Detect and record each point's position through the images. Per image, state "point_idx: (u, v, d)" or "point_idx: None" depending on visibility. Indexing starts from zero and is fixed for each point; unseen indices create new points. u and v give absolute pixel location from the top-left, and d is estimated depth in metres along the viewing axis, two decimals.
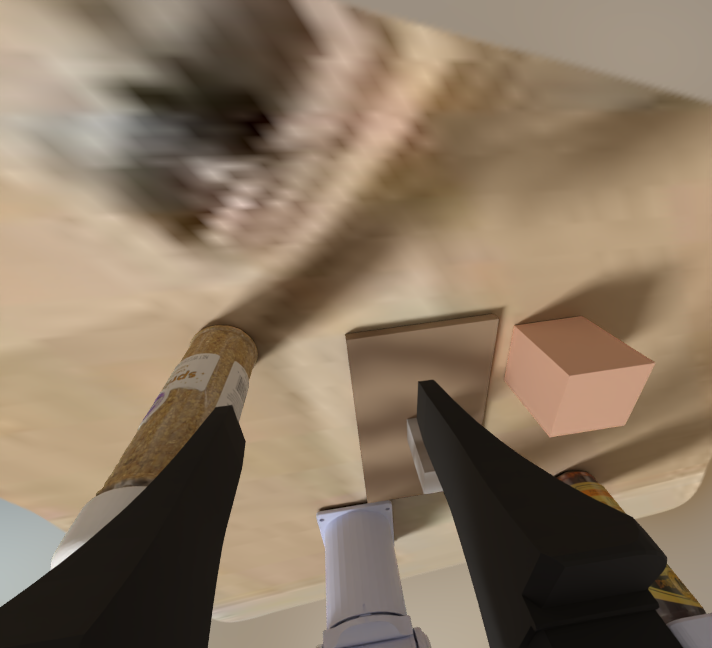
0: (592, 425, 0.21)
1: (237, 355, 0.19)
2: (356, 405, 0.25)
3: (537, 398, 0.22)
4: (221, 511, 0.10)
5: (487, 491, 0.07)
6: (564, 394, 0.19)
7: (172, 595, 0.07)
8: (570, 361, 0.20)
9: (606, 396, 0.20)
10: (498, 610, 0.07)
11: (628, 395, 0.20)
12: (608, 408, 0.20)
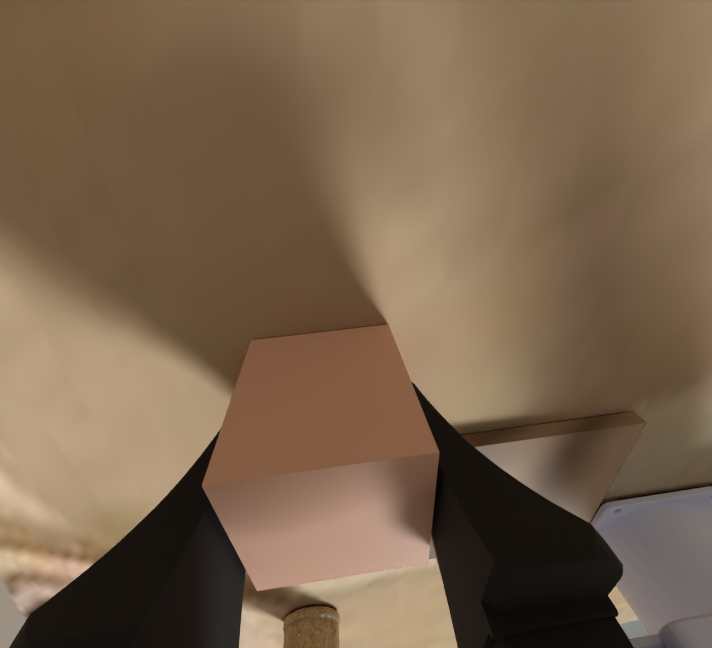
0: (414, 515, 0.08)
1: None
2: None
3: None
4: None
5: (452, 496, 0.07)
6: (307, 579, 0.10)
7: (209, 589, 0.07)
8: None
9: (316, 526, 0.08)
10: (464, 616, 0.07)
11: (318, 491, 0.07)
12: (359, 509, 0.08)
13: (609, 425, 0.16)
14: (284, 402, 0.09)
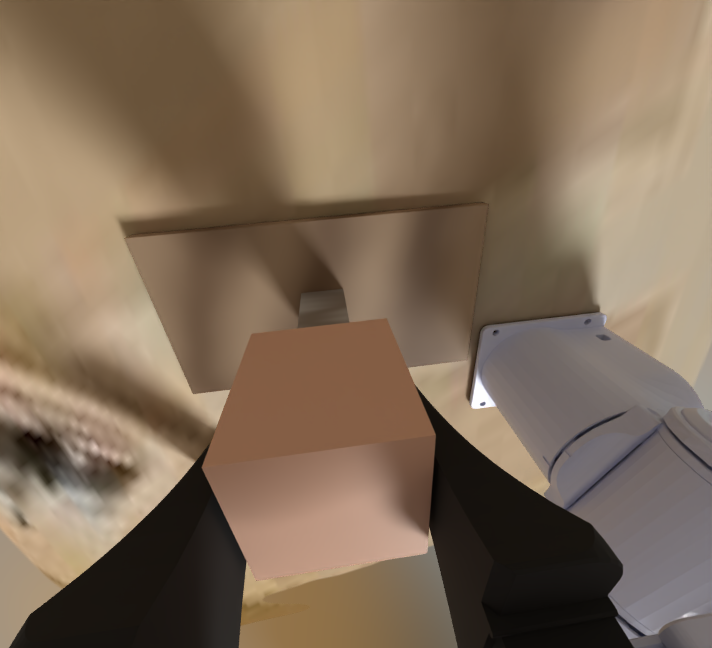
0: (412, 501, 0.09)
1: None
2: None
3: None
4: None
5: (452, 497, 0.07)
6: (306, 569, 0.10)
7: (209, 589, 0.07)
8: None
9: (314, 512, 0.08)
10: (464, 616, 0.07)
11: (316, 474, 0.08)
12: (357, 495, 0.08)
13: (455, 207, 0.18)
14: (283, 390, 0.09)
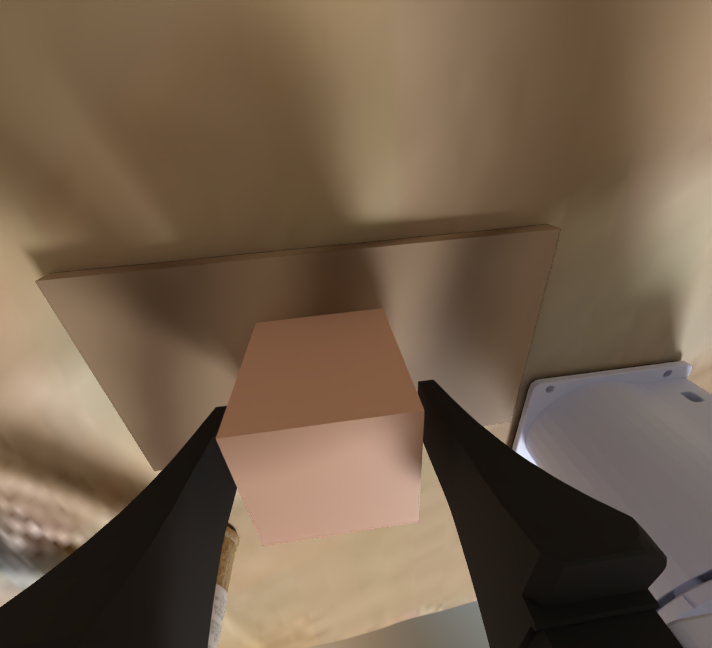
0: (404, 472, 0.09)
1: None
2: None
3: None
4: (221, 511, 0.10)
5: (487, 491, 0.07)
6: (308, 535, 0.11)
7: (172, 595, 0.07)
8: None
9: (316, 482, 0.09)
10: (498, 610, 0.07)
11: (317, 446, 0.08)
12: (354, 465, 0.09)
13: (513, 232, 0.12)
14: (287, 373, 0.10)
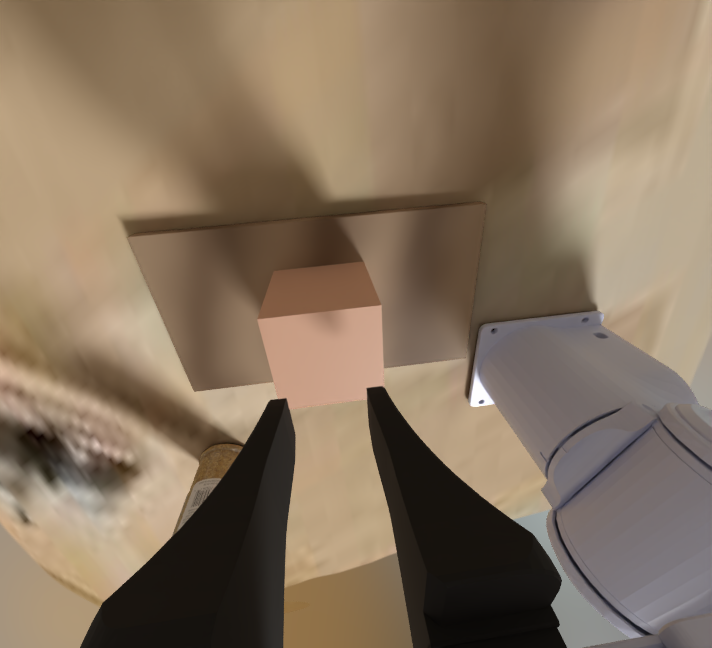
0: (372, 353, 0.15)
1: (198, 477, 0.24)
2: None
3: None
4: (284, 502, 0.10)
5: (402, 504, 0.07)
6: (311, 404, 0.16)
7: (261, 580, 0.07)
8: None
9: (316, 357, 0.15)
10: (415, 625, 0.07)
11: (317, 328, 0.14)
12: (340, 345, 0.14)
13: (453, 206, 0.18)
14: (297, 293, 0.15)
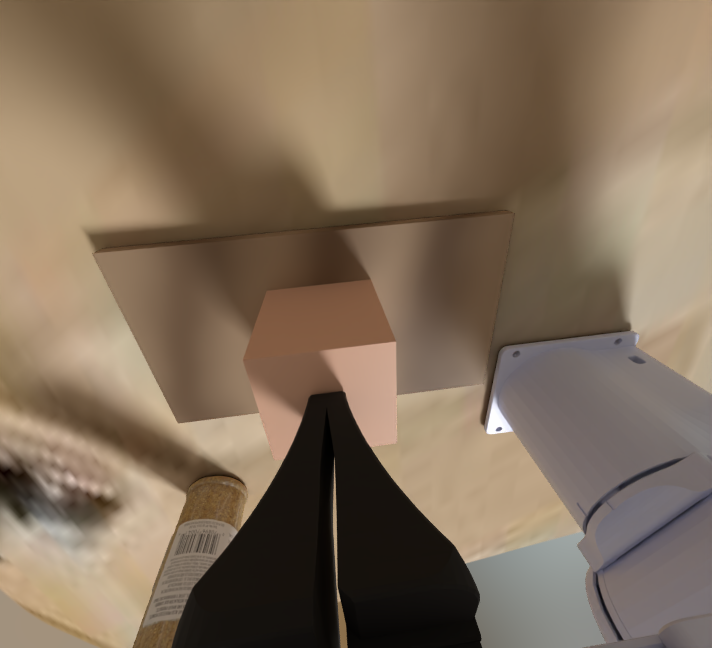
0: (383, 395, 0.12)
1: (183, 516, 0.21)
2: None
3: None
4: (330, 495, 0.10)
5: (337, 514, 0.07)
6: None
7: (327, 570, 0.07)
8: None
9: None
10: None
11: (317, 369, 0.11)
12: (345, 388, 0.12)
13: (476, 216, 0.15)
14: (293, 322, 0.13)
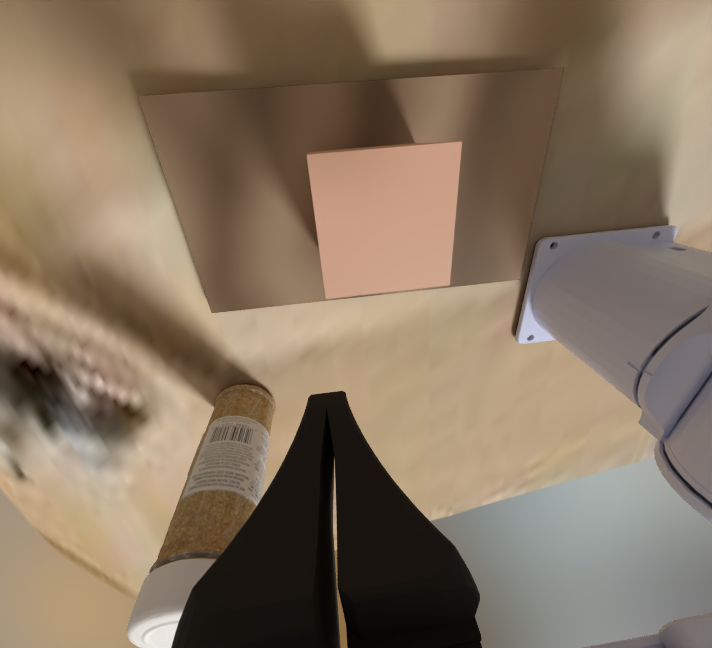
0: (442, 217, 0.12)
1: (214, 416, 0.21)
2: (312, 300, 0.20)
3: None
4: (330, 495, 0.10)
5: (337, 514, 0.07)
6: (361, 292, 0.13)
7: (327, 570, 0.07)
8: None
9: (375, 219, 0.12)
10: None
11: (379, 174, 0.11)
12: (405, 203, 0.12)
13: (524, 71, 0.15)
14: None
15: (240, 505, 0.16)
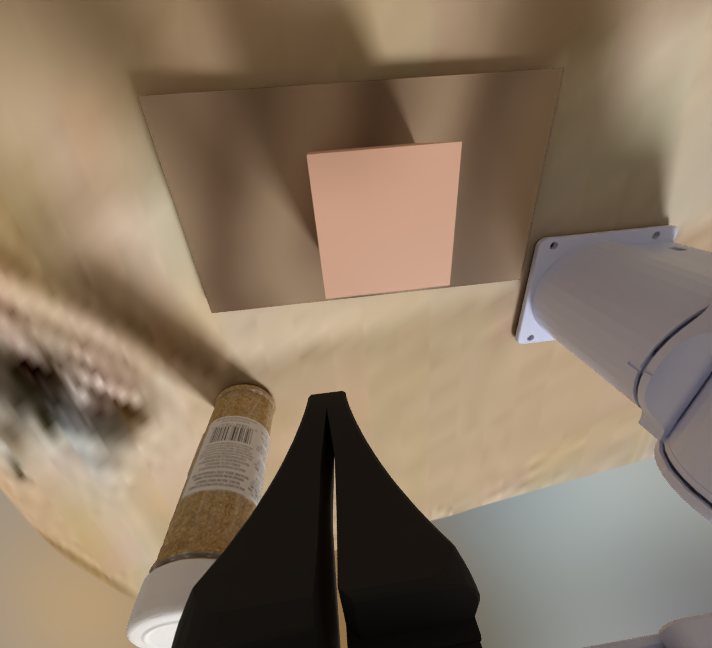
0: (442, 217, 0.12)
1: (214, 416, 0.21)
2: (312, 300, 0.20)
3: None
4: (330, 495, 0.10)
5: (337, 514, 0.07)
6: (361, 292, 0.13)
7: (327, 570, 0.07)
8: None
9: (375, 219, 0.12)
10: None
11: (379, 174, 0.11)
12: (405, 203, 0.12)
13: (524, 71, 0.15)
14: None
15: (240, 505, 0.16)
